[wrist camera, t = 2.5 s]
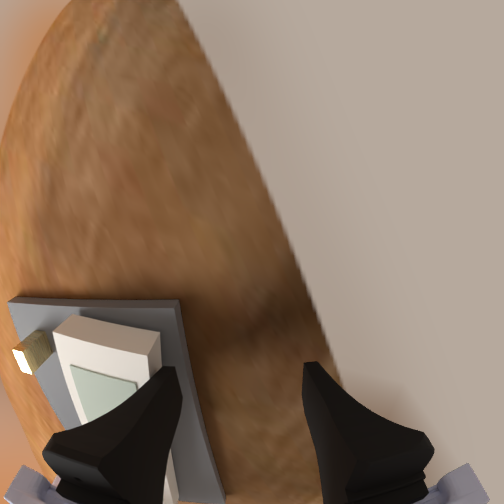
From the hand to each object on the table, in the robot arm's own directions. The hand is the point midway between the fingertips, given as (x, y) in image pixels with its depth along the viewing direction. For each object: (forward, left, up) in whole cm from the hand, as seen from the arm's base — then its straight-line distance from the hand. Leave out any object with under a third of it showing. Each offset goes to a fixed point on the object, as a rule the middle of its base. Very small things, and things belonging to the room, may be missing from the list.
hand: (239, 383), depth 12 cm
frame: (-9, +3, -1) cm, 10 cm away
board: (-11, +3, -2) cm, 12 cm away
